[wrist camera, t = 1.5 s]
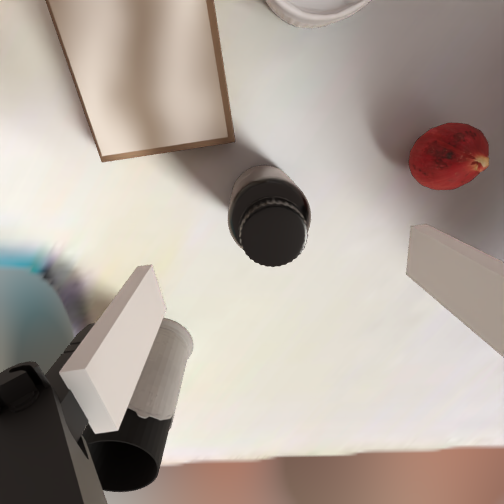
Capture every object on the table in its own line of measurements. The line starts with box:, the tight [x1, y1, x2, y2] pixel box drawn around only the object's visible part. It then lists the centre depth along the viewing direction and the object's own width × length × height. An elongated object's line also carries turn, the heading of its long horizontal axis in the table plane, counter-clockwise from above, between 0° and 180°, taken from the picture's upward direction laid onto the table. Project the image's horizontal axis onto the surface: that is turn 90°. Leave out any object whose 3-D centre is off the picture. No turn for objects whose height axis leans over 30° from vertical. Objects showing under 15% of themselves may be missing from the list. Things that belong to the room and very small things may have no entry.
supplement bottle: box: [228, 165, 311, 267], centre depth 24 cm, size 7×7×12 cm
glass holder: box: [82, 318, 193, 492], centre depth 31 cm, size 9×14×15 cm, turn 147°
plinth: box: [45, 0, 235, 162], centre depth 23 cm, size 12×12×4 cm
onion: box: [409, 123, 489, 190], centre depth 25 cm, size 6×6×8 cm
